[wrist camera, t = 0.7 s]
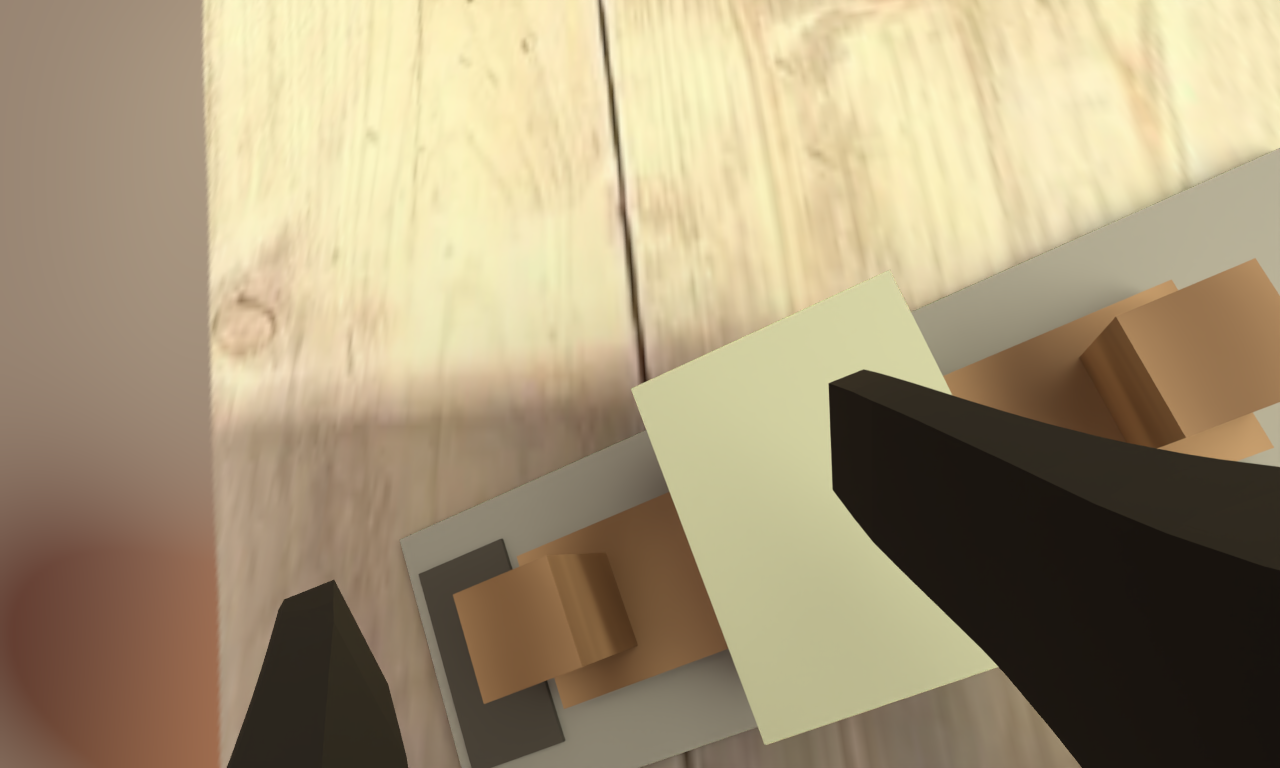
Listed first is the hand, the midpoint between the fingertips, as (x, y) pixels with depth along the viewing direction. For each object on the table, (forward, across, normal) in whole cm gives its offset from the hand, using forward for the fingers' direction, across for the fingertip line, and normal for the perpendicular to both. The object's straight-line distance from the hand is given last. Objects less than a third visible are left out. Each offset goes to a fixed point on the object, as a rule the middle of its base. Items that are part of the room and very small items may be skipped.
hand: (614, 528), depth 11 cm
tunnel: (+8, -9, +11) cm, 16 cm away
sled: (+8, -9, +11) cm, 16 cm away
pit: (+13, +2, +15) cm, 20 cm away
